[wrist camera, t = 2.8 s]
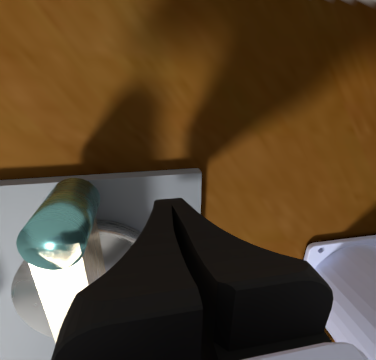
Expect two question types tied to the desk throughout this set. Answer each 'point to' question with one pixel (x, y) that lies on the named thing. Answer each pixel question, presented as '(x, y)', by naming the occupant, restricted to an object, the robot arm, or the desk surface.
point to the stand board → (108, 210)
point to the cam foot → (64, 253)
